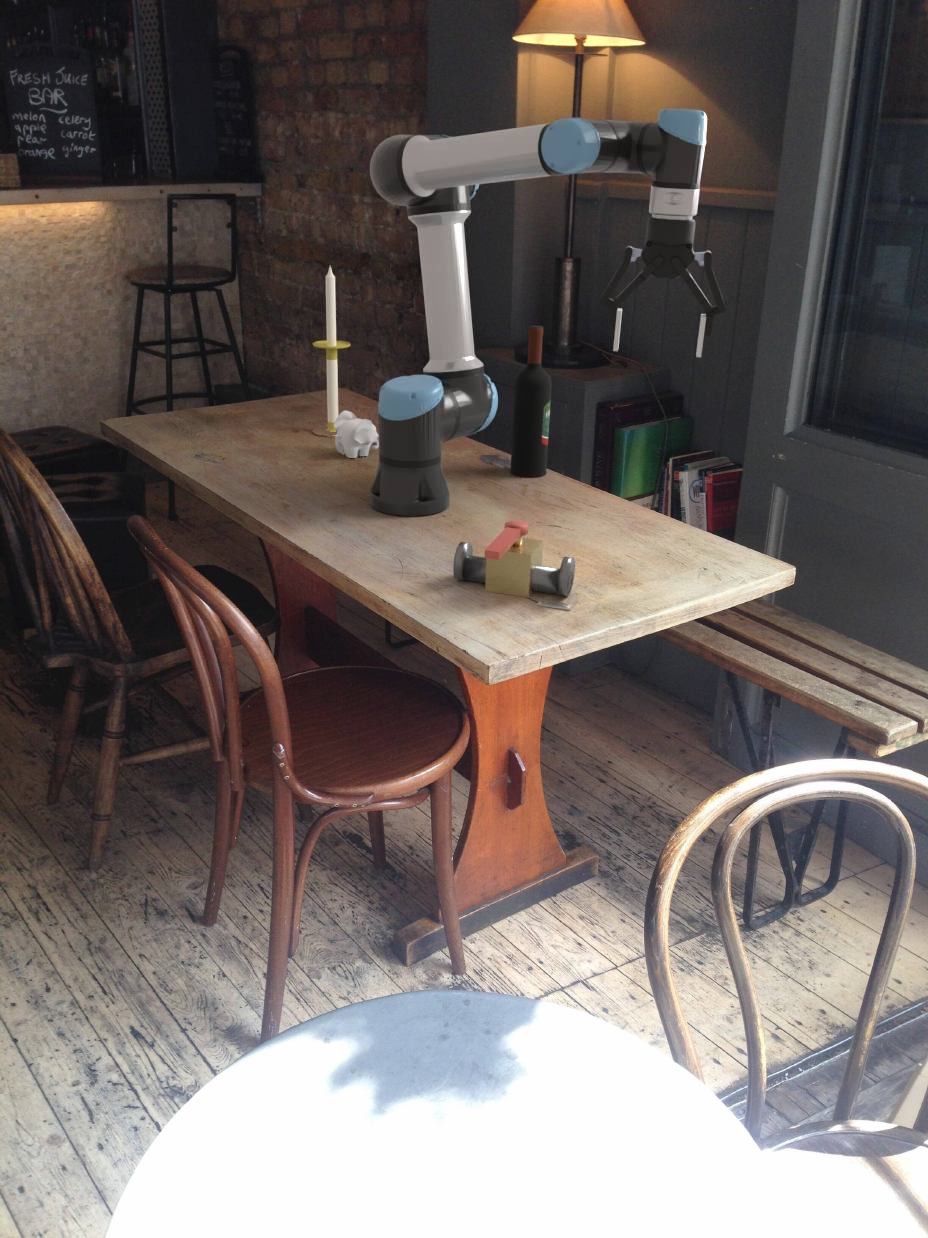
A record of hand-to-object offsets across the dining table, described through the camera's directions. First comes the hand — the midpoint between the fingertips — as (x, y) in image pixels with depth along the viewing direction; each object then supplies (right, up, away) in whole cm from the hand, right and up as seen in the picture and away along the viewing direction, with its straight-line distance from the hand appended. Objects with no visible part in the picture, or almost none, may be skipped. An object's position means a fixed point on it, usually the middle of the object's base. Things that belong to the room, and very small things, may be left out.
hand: (656, 352), depth 181 cm
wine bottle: (-18, -13, +49) cm, 54 cm away
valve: (-24, -40, -11) cm, 48 cm away
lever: (-26, -33, -18) cm, 45 cm away
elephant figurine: (-55, -8, +58) cm, 80 cm away
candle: (-63, -1, +74) cm, 97 cm away
